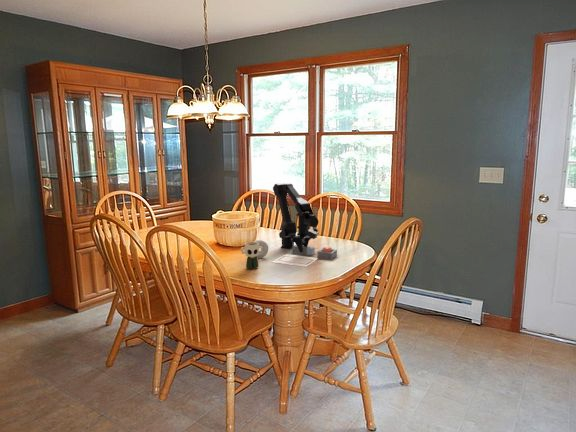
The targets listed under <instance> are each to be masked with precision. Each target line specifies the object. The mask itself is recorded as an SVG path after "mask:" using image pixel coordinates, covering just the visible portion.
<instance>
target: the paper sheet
mask: <svg viewBox="0 0 576 432" xmlns="http://www.w3.org/2000/svg"><path fill="white" fill-rule="evenodd" d="M318 259H320V258H317V257H313V256H311V257H310V256H302V255H295V254H289V253H288V254H287V253H286V254H283V255H282V256H280V257H278V258H276V259H275V260H272V263H276V264H283V265H291V266H297V267H302V268H303V267H304V268H307V267H309V265H311V264H313V263H314V262H316V261H317V260H318Z"/></svg>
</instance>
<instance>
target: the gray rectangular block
mask: <svg viewBox="0 0 576 432" xmlns="http://www.w3.org/2000/svg"><path fill="white" fill-rule="evenodd" d="M315 252H316V250H315V246H309V245H308V246H303V249H302V253H301V252H300V251H299V249H298V247H297V245H296V244H294V246H293V248H292V253H293V254H298V255H299V254H301V255H307V256H313V255H315Z"/></svg>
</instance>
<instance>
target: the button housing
mask: <svg viewBox="0 0 576 432" xmlns="http://www.w3.org/2000/svg"><path fill="white" fill-rule="evenodd" d="M337 256H338V249H335V248H334V249H333V248H332V252H331V253H330V252H323V247H322V248H321V249H319V250H318V251H317V257H316V258H319V259H324V260H325V259H326V260H333V259H335V258H336V257H337Z"/></svg>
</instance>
